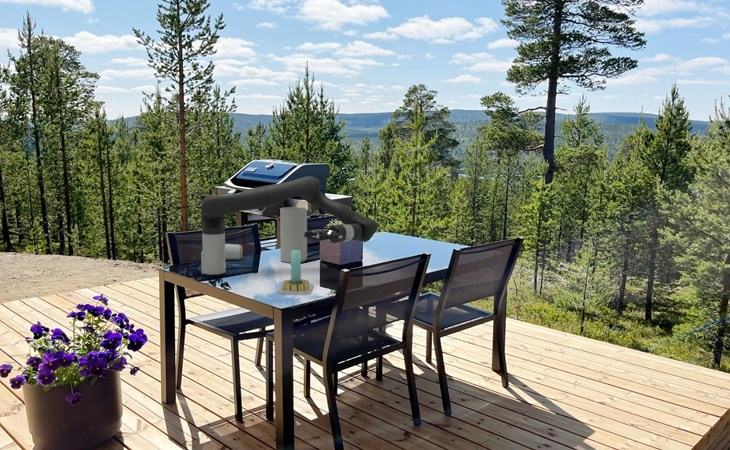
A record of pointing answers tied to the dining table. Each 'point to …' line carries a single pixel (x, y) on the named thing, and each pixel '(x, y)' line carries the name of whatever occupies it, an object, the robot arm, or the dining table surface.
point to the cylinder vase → (293, 232)
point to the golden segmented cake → (296, 287)
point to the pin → (295, 267)
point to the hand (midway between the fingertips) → (312, 236)
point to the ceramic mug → (233, 252)
